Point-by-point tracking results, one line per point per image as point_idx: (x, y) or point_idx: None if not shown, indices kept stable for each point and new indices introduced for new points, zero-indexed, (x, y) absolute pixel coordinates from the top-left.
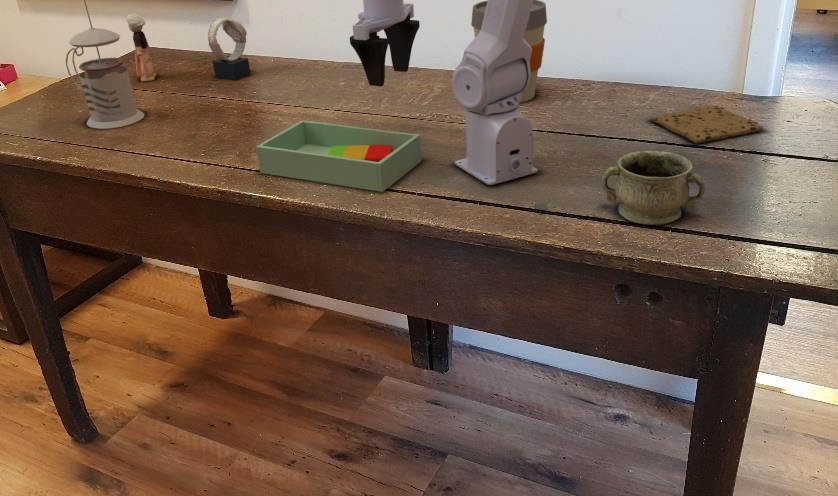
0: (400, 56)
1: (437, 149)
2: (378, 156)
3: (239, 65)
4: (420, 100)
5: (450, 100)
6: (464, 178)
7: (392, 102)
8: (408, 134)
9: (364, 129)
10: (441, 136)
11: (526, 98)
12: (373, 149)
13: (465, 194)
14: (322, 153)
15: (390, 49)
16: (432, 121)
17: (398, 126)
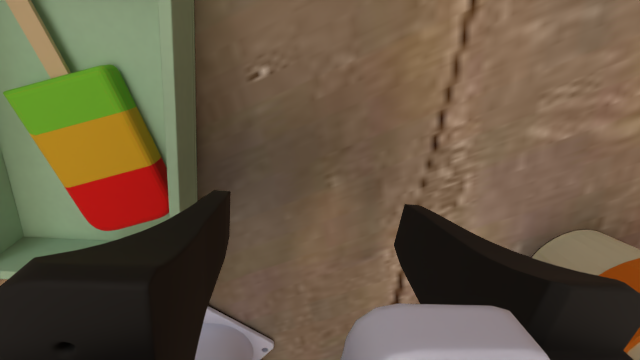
0: (422, 262)
1: (265, 251)
2: (89, 214)
3: None
4: (565, 112)
5: (554, 179)
6: None
7: (560, 43)
8: None
9: (166, 150)
10: (334, 235)
11: None
12: (123, 186)
13: None
14: (128, 19)
15: (448, 238)
16: (419, 189)
17: (382, 129)
